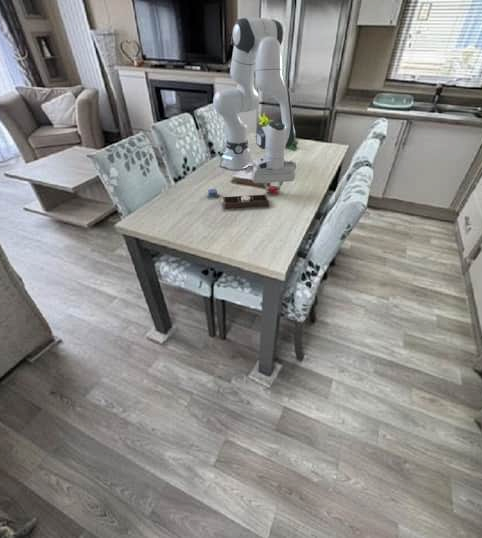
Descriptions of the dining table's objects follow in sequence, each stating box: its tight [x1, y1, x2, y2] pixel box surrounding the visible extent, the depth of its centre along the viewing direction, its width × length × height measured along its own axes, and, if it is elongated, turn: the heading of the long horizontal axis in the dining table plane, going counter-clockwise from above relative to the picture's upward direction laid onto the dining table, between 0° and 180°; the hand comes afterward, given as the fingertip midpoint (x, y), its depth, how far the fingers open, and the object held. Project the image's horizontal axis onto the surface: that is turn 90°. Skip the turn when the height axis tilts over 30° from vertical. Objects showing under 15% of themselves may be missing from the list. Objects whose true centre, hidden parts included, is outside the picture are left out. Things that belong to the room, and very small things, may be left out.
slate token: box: [207, 188, 218, 198], centre depth 141 cm, size 4×4×3 cm
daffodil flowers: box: [254, 112, 300, 151], centre depth 202 cm, size 17×15×35 cm
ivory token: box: [241, 195, 250, 202], centre depth 134 cm, size 4×4×3 cm
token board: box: [222, 194, 269, 210], centre depth 135 cm, size 7×20×3 cm, turn 99°
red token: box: [267, 185, 278, 195], centre depth 145 cm, size 4×4×3 cm
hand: (272, 190), depth 145 cm, fingers closed on red token, 4 cm apart
